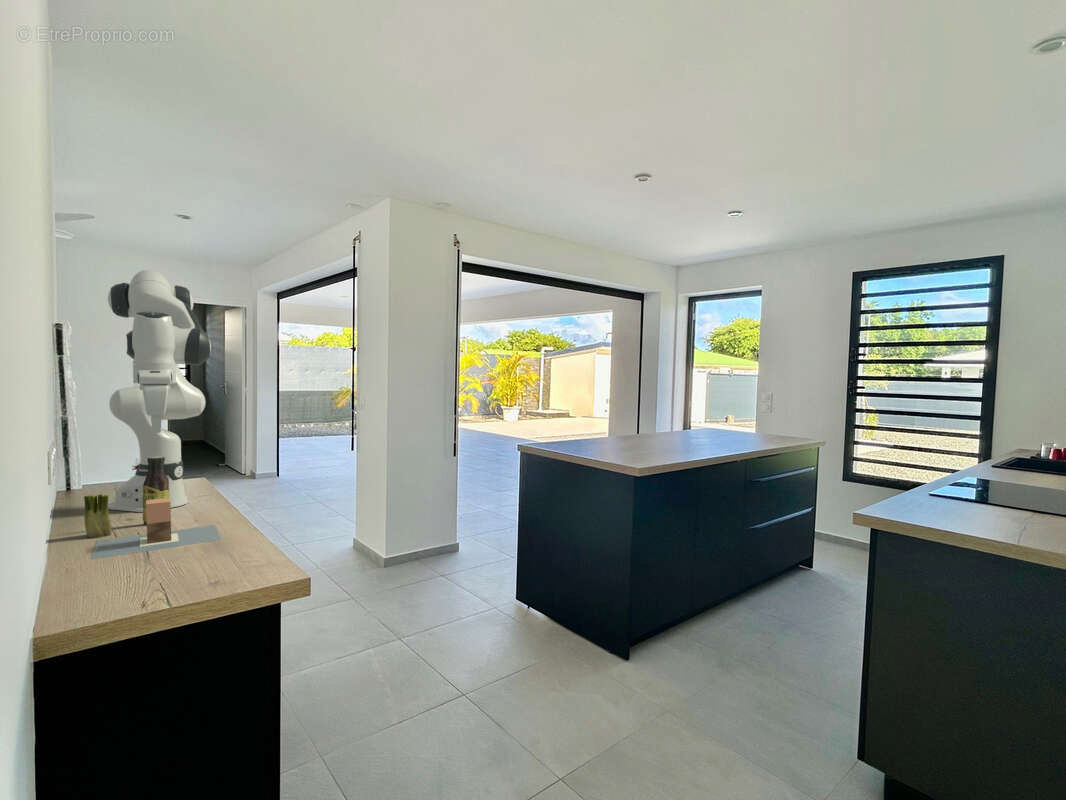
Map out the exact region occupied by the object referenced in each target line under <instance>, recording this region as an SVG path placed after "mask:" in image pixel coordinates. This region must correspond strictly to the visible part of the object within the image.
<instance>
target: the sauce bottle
mask: <svg viewBox="0 0 1066 800" xmlns="http://www.w3.org/2000/svg"><path fill="white" fill-rule="evenodd" d="M164 461H165V457H164V456H151V457H148V460H147V462H148V474H147V476H146V479H145V481H144V484H143V512H142V521H143V523H142V524H143V525H146V526H147V516H146V500H153V499H163V498H169V479H168V477H167V476H166V475H165V473H164Z"/></svg>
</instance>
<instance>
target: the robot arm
mask: <svg viewBox="0 0 1066 800" xmlns="http://www.w3.org/2000/svg"><path fill="white" fill-rule="evenodd" d="M107 302H108V306H109V307H110V310H111V311H112V313H113V314H114V315H116V316H117V317H121V318H125V319H126V318H128V319H129V318H133V324H132V330H131V331H129V332H127V333H126V334H125V335H126V355H127V356H129V357H130V358H131V359H132V378H133V381H132V382H133V384H137V385H139V386H131V387H125V388H121V389H120V388H119V389H116V390H115V391H114V392H113V394H111V396H110V398H109V405H108V406H109V410H110V412H111V414H112V415H113V416H114V417H115V418H116V419H118V420H119V421H121V422H122V423H124V424H125V425H127V426H128V427H129V428H130V429H131V430H132V431H133V433H134V435H135V437H136V438H137V442H138V447H139V457H140V458H139V460H140V463H138V464H137V465H134V466H132V469H131V470H132V471H135V470H136V471H135V473H134V475H133V476H132V477H130V478H129V479H128V480H127V481H126V482H124V483H123V484H121V485H119V486H118V488H117V489H116V491H115V496H114V501H113V502H109V503H108V510H113V511H114V510H115V511H123V512H136V513H143V484H144V481H145V479H146V476H147V474H148V462H147V460H148V457H151V456H164V457H165V461H164V473H165V475H166V476H167V477H168V479H169V498H170V505H171V508H177V507H181V506H184V505H185V504H186V505H187V504H188V503H189V500H188V497H187V494H186V491H185V490H186V489H185V486H184V480H183V479H184V478H183V475H184V462H183V460H182V440H181V438H180V436H179V435H178V434H177V433H174V432H172V431H170V430H167V429H163V428H162V421H166V420H167V421H168V420H185V419H191V418H194V417H198V416H200V415H201V414H202V413H203V411H204V410H205V408H206V397H205V395H204V393H203V392H202V391H201V390H200V389H199V388H198V387H195V386H194V385H193V384H192V383H190V382H189V381H188V380H187V379H186V378H185V376H184V375H183V373H182V371H181V370H180V366H179V365H189V366H201V365H202V364H203V363H205V362H206V361H208V360H209V358H211V357H210V356H211V354H212V345H211V344H212V343H211V341H210V337H209V335H208V334H207V333H206V332H205V330H204V329H203V328H202V327H201V324H200V323H199V321H198V319H197V318H196V316H195V314H194V312H193V309H194V298H193V295H192V294H191V292H190V290H189V289H188V288H187V287H185V286H181V285H176V284H175V285H171V283H170V282H169V280H168V279H167V277H165V276H164V275H163V274H162V273H161V272H158V271H156V270H153V269H146V270H145V269H144V270H140V271H138V272H137V273H135V275H133V277H132V279H131V280H130V282H129V283H128V282H121V283H116V284H114V285H113V286H112V287H110V290H109V292H108V295H107Z"/></svg>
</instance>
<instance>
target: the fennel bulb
mask: <svg viewBox="0 0 1066 800" xmlns="http://www.w3.org/2000/svg"><path fill="white" fill-rule="evenodd" d="M83 498H84V499H83V500H84V526H85V531H86V532H85V533H86V536H87V538H89V539H100V538H104V537H109V536H111V534H112V522H111V517H110V513H109V509H108V504H109V495H108V494H103V493H98V494H92V495H91V494H87V495H84V496H83Z"/></svg>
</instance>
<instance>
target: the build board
mask: <svg viewBox="0 0 1066 800" xmlns="http://www.w3.org/2000/svg"><path fill="white" fill-rule="evenodd" d="M215 541H217V542H218V541H222V538H221V536H220V533H219V531H218V529H217V527H216V525H215V524H214V525H212V524H211V525H206V526H197V527H190V528H189V527H188V528H184V529H183V528H182V529H176V530H171V541H164V542H157V543H150V544H147V533H146V534H145V533H144V534H139V535H138V534H137V535H130V536H124V537H116V538H108V539H102V540H100V539H99V540H96V542H95V546H94V548H93V551H92V554H91V557H90V560H96V559H105V558H109V557H117V556H124V555H131V554H136V553H143V552H149V551H156V550H161V549H162V550H164V549H170V548H177V547H183V546H190V545H196V544H197V545H198V544H204V543H209V542H215Z"/></svg>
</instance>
